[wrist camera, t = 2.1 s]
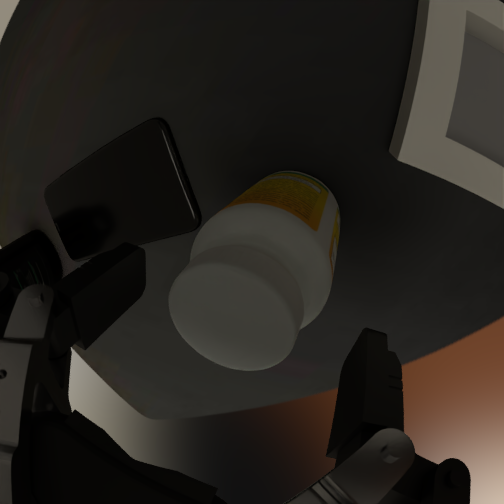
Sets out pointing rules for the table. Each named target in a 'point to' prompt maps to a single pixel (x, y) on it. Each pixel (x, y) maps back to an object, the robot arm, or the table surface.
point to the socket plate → (456, 96)
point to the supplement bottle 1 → (30, 261)
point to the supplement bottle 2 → (259, 272)
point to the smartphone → (124, 194)
